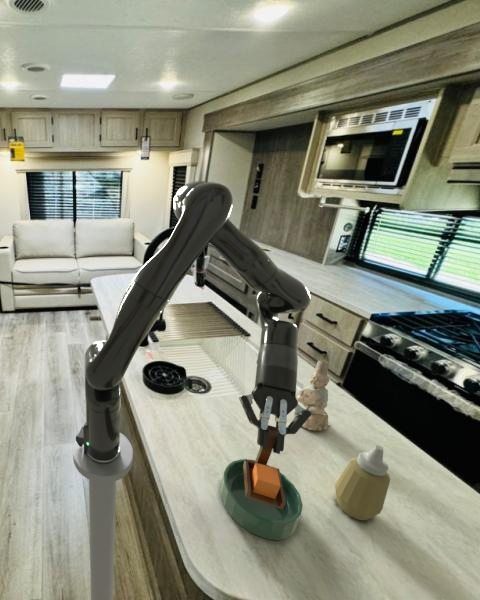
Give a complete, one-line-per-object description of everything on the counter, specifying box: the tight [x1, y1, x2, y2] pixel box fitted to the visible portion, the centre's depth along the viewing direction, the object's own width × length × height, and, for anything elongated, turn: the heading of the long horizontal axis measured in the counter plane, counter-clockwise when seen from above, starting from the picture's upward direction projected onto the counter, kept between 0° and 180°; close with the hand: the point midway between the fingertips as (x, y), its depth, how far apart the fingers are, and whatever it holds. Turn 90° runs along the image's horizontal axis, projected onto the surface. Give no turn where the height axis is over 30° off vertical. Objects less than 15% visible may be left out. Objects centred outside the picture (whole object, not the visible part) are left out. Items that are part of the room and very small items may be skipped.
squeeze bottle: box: [334, 445, 391, 521], centre depth 67 cm, size 8×8×18 cm
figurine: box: [296, 360, 331, 431], centre depth 90 cm, size 9×8×20 cm
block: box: [251, 463, 281, 499], centre depth 63 cm, size 4×4×4 cm
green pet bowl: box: [220, 458, 303, 541], centre depth 70 cm, size 15×15×6 cm
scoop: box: [243, 424, 286, 509], centre depth 63 cm, size 9×7×12 cm
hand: (269, 450), depth 63 cm, fingers closed on scoop
